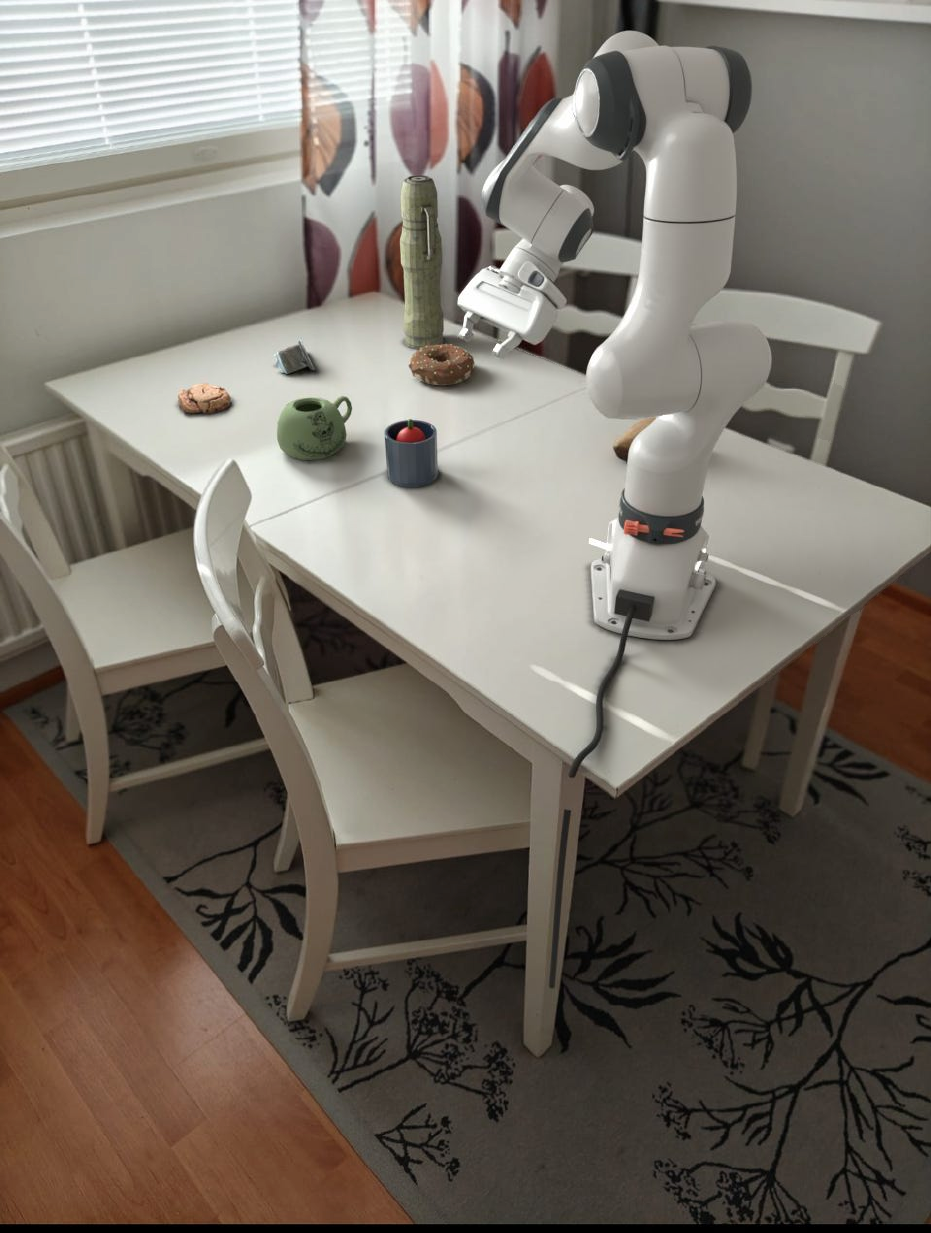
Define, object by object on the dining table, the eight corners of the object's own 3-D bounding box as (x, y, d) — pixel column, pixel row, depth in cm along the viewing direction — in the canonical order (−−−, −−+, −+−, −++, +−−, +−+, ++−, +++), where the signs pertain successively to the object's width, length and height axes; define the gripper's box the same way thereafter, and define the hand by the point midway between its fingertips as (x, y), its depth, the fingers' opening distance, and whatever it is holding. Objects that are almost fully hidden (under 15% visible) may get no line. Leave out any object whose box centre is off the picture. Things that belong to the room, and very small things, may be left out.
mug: (305, 471, 179) (300, 427, 173) (264, 447, 186) (258, 404, 181) (374, 442, 187) (371, 399, 182) (332, 420, 195) (328, 378, 189)
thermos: (427, 329, 231) (421, 168, 210) (454, 345, 223) (452, 180, 202) (394, 337, 227) (385, 174, 206) (421, 354, 220) (414, 187, 198)
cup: (429, 490, 173) (428, 446, 168) (380, 484, 175) (377, 440, 170) (443, 465, 180) (442, 422, 175) (396, 459, 182) (393, 417, 177)
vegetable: (645, 469, 172) (634, 411, 170) (606, 473, 182) (596, 418, 180) (712, 450, 179) (703, 395, 177) (671, 455, 189) (662, 402, 187)
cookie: (226, 414, 197) (223, 400, 195) (172, 414, 197) (169, 400, 195) (236, 393, 205) (234, 379, 203) (185, 392, 205) (182, 379, 203)
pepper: (422, 480, 175) (420, 427, 168) (394, 477, 176) (391, 424, 169) (430, 466, 179) (429, 414, 172) (403, 463, 180) (400, 411, 173)
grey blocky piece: (273, 356, 220) (263, 335, 208) (303, 344, 221) (294, 322, 209) (290, 394, 219) (281, 375, 208) (320, 382, 220) (312, 362, 208)
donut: (412, 362, 217) (411, 340, 213) (475, 362, 216) (475, 340, 213) (406, 390, 205) (405, 367, 202) (473, 391, 205) (473, 368, 202)
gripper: (477, 252, 174) (433, 320, 175) (555, 283, 161) (507, 356, 162) (496, 273, 179) (454, 338, 180) (573, 304, 166) (527, 375, 167)
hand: (479, 347), depth 171 cm, fingers open, 8 cm apart
